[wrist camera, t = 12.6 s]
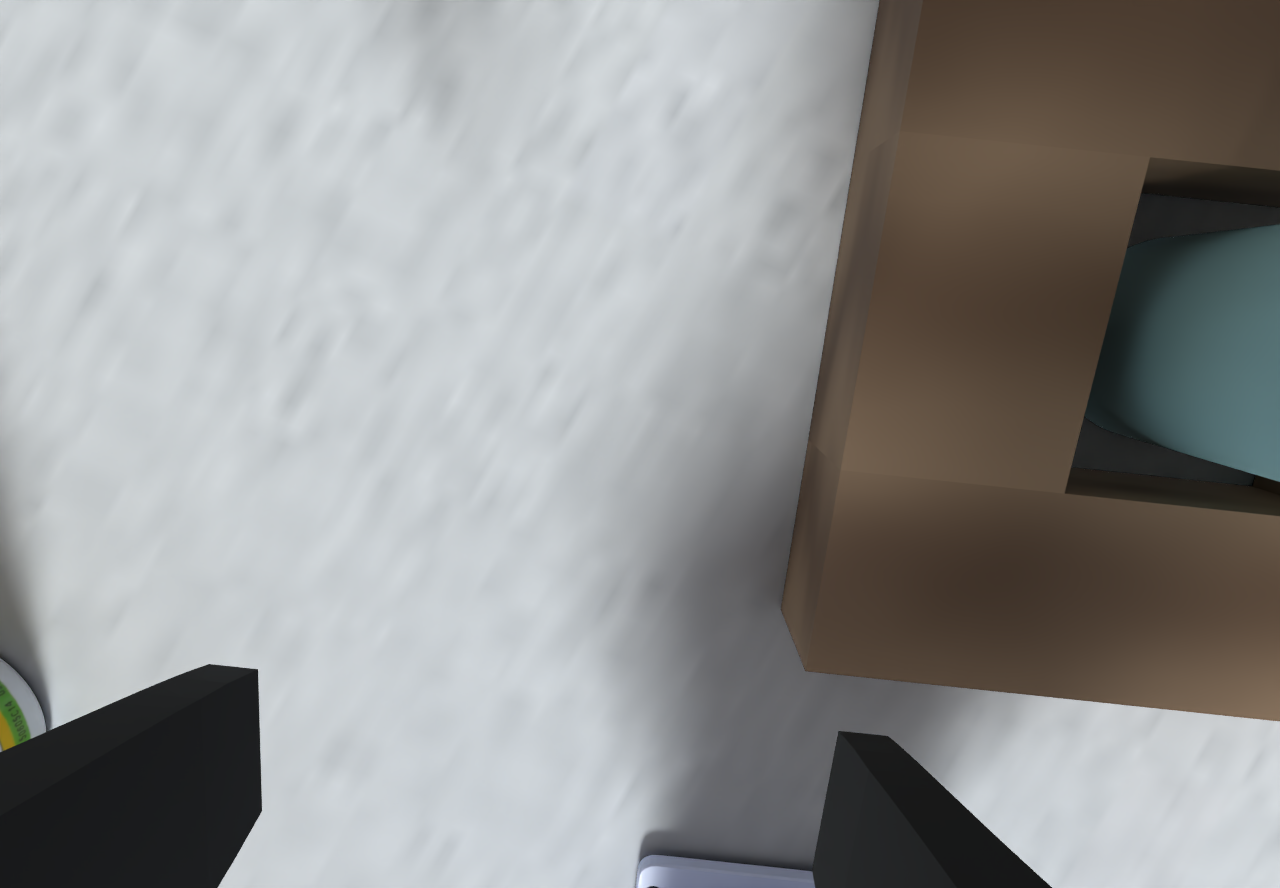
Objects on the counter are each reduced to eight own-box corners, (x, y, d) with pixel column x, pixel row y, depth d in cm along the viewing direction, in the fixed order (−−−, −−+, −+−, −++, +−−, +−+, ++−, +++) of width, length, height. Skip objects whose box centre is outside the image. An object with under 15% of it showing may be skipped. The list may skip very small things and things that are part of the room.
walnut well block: (1372, 671, 18) (1514, 746, 15) (780, 609, 18) (805, 671, 15) (1629, 7, 14) (1882, -67, 11) (890, -69, 14) (951, -163, 11)
